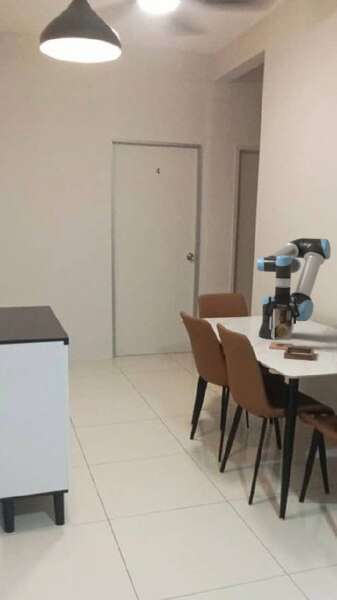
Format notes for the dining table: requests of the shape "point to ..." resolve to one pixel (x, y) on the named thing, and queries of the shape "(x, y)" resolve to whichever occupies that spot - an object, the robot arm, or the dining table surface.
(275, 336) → the coffee box
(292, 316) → the robot arm
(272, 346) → the terracotta tile
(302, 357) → the tray
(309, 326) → the dining table surface
